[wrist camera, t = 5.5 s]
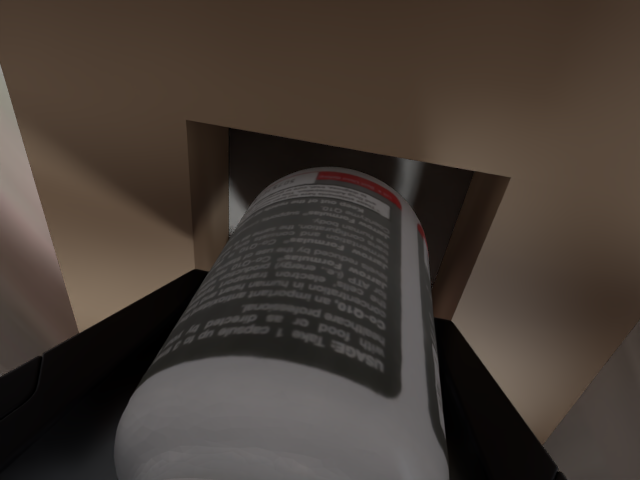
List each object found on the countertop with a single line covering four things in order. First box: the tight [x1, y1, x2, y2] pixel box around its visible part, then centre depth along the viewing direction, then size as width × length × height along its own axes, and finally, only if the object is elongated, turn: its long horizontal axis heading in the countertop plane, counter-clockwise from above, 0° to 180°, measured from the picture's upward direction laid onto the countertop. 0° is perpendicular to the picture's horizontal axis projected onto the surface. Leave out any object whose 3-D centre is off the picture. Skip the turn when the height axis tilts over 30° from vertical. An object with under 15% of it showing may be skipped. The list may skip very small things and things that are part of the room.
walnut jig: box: [0, 0, 640, 445], centre depth 11 cm, size 18×14×3 cm
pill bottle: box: [114, 167, 449, 480], centre depth 7 cm, size 5×5×8 cm
